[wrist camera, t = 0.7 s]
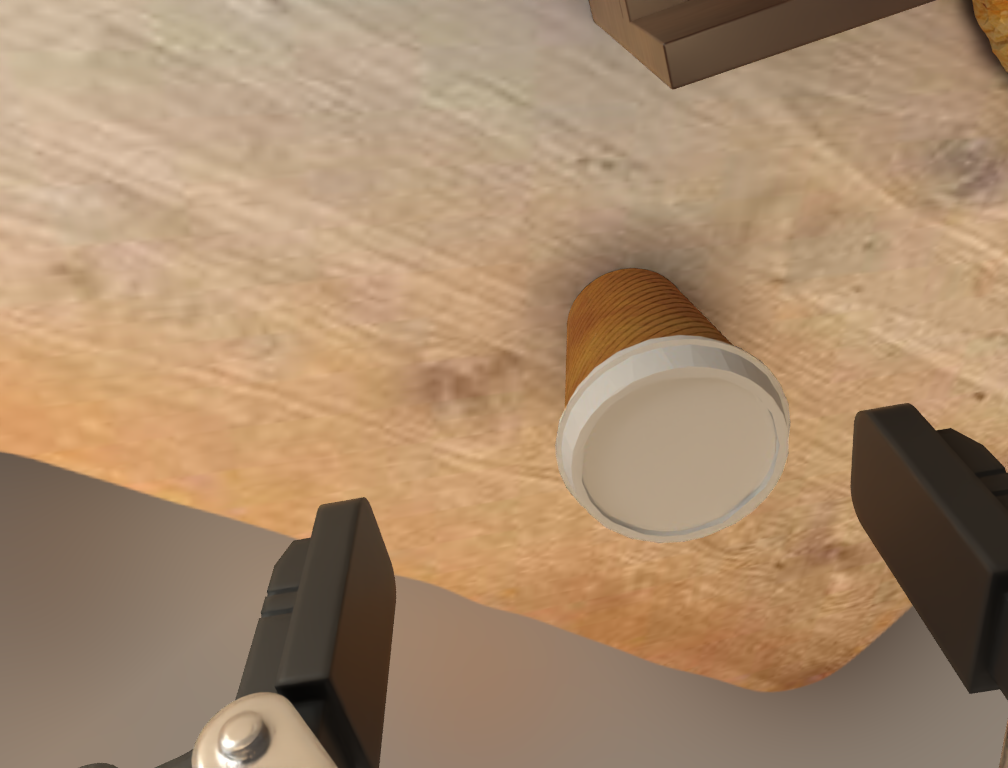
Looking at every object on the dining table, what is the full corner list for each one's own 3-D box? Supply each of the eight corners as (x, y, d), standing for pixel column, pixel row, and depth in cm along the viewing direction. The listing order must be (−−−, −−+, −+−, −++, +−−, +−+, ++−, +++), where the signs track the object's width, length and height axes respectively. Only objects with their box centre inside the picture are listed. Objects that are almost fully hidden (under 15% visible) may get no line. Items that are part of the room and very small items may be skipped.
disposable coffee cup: (571, 423, 44) (603, 577, 34) (508, 278, 39) (523, 407, 29) (735, 365, 43) (821, 509, 32) (691, 207, 38) (774, 317, 28)
